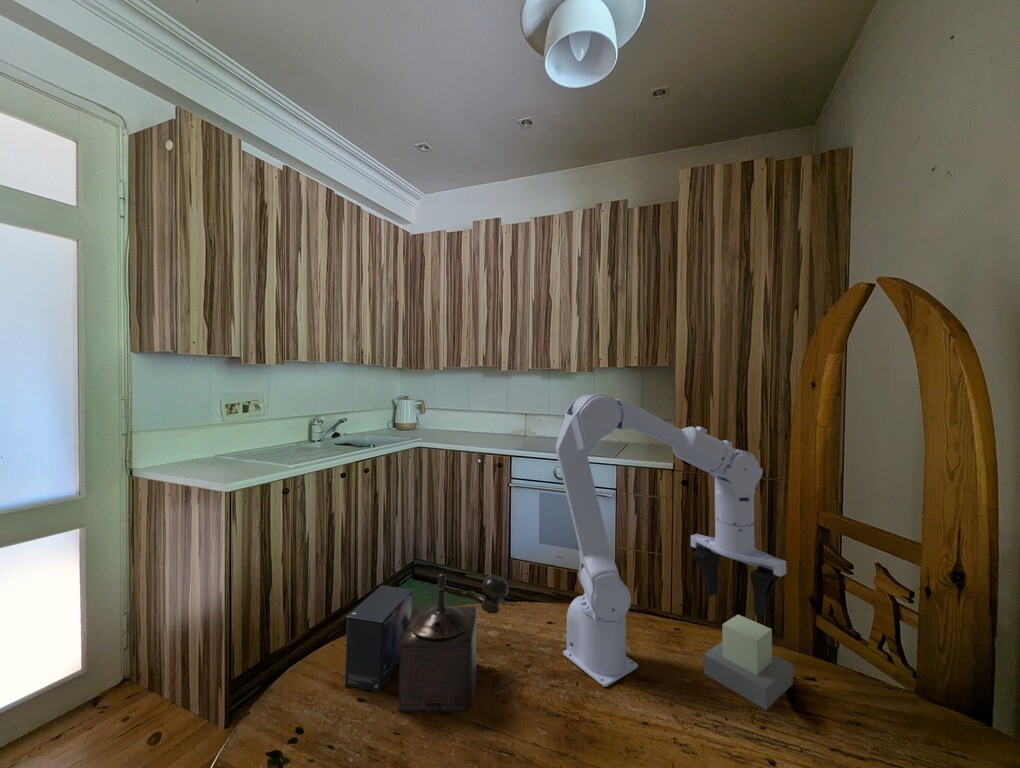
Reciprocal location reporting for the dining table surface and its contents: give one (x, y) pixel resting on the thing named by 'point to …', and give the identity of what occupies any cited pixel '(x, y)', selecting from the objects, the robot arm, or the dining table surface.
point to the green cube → (747, 643)
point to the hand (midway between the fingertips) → (735, 603)
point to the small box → (376, 637)
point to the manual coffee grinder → (443, 651)
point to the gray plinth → (750, 677)
